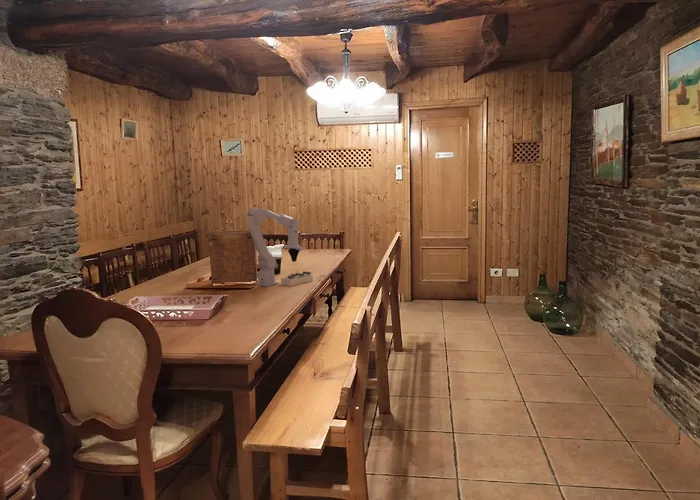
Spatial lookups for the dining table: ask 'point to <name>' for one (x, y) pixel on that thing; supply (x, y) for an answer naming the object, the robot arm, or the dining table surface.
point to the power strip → (296, 280)
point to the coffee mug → (277, 265)
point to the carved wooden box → (232, 257)
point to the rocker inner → (292, 276)
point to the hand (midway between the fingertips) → (294, 261)
